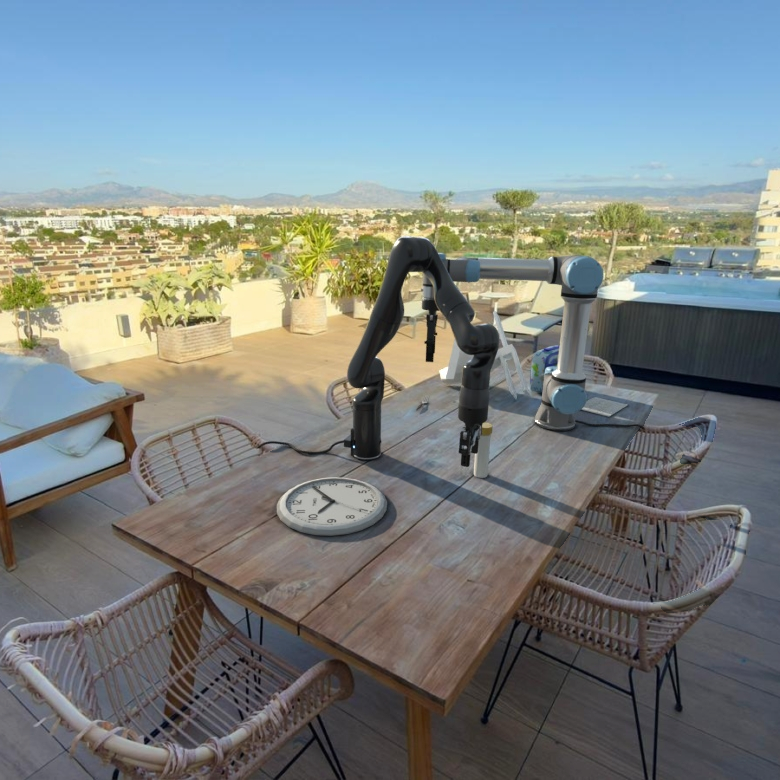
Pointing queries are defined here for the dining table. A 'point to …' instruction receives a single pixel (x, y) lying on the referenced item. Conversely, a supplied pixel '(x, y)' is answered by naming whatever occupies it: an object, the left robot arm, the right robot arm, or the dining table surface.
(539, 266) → the right robot arm
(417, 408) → the fork
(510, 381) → the white plastic object
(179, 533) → the dining table surface
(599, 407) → the invitation card
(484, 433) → the lid
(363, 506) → the wall clock
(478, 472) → the jar
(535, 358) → the lunch box
